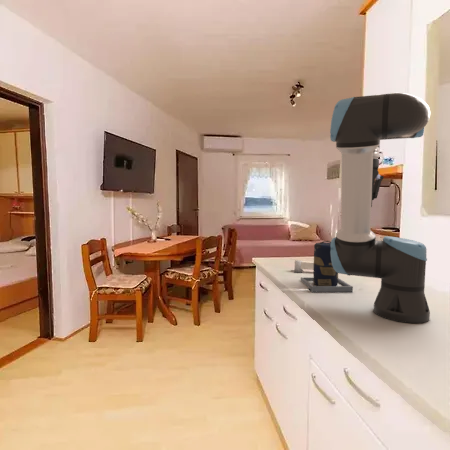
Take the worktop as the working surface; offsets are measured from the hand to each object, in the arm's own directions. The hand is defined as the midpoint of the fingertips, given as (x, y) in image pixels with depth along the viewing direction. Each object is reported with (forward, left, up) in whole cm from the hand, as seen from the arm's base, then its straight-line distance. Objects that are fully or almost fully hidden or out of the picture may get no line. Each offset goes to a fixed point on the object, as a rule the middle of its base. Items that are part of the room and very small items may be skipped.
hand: (366, 215), depth 139 cm
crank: (+13, +18, -27) cm, 35 cm away
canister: (-9, +20, -28) cm, 36 cm away
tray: (-9, +20, -28) cm, 36 cm away
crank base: (+15, +24, -28) cm, 40 cm away
